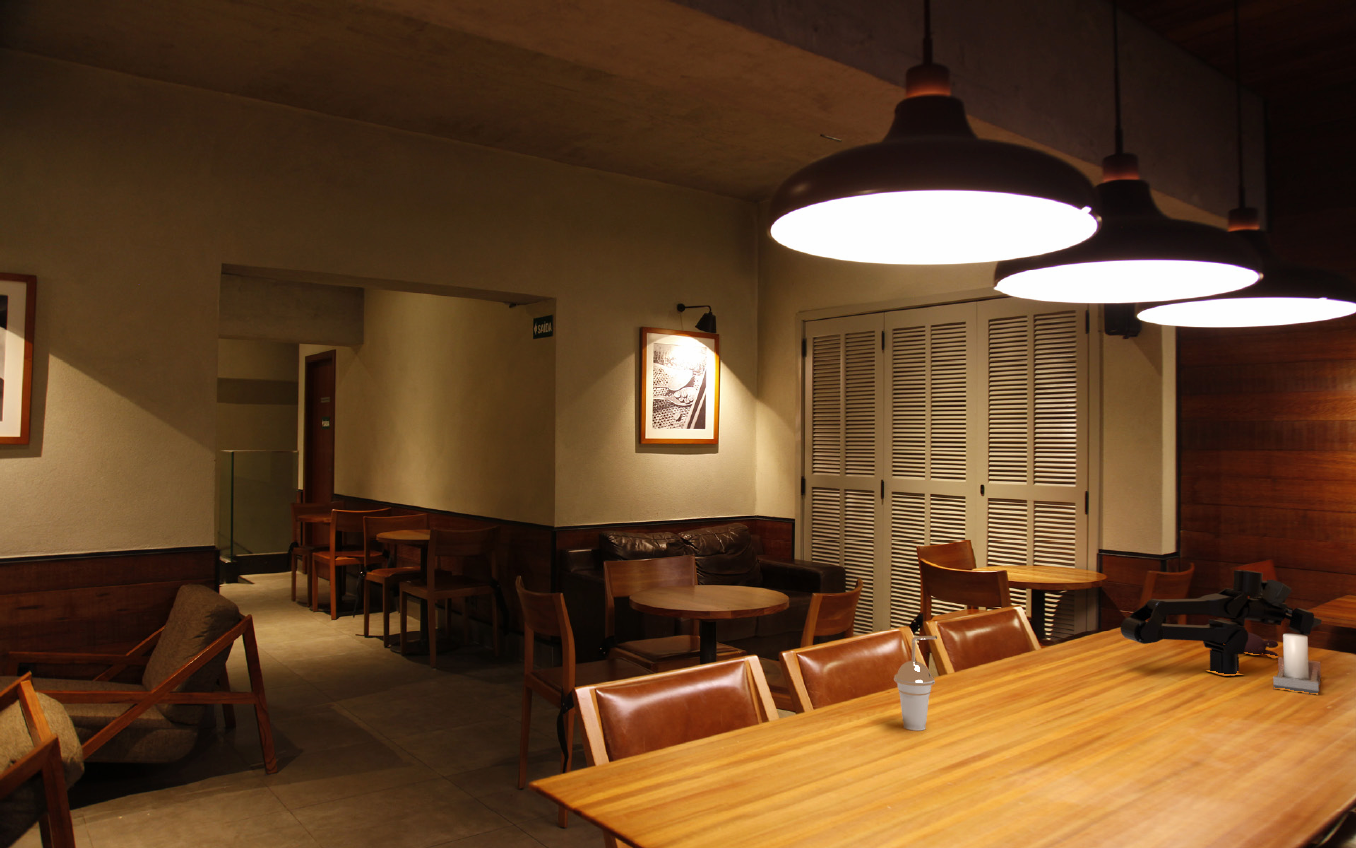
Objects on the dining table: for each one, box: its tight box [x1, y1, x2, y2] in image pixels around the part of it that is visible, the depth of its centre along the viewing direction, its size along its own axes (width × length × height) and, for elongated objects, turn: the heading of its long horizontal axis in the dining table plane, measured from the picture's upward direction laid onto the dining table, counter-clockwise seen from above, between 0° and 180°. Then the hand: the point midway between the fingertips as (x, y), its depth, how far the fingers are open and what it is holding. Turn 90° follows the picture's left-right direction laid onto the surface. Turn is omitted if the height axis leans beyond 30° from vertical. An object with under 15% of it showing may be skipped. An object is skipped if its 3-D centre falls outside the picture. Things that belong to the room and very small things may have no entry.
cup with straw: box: [893, 635, 938, 732], centre depth 183 cm, size 8×9×20 cm
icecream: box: [1244, 632, 1279, 656], centre depth 254 cm, size 7×7×15 cm
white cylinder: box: [1282, 633, 1309, 680], centre depth 217 cm, size 5×5×12 cm
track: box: [1272, 656, 1322, 693], centre depth 221 cm, size 21×9×4 cm, turn 142°
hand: (1306, 615), depth 235 cm, fingers open, 9 cm apart
